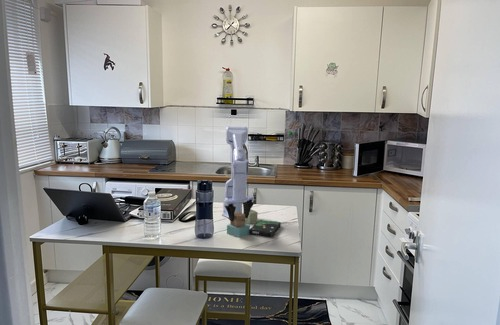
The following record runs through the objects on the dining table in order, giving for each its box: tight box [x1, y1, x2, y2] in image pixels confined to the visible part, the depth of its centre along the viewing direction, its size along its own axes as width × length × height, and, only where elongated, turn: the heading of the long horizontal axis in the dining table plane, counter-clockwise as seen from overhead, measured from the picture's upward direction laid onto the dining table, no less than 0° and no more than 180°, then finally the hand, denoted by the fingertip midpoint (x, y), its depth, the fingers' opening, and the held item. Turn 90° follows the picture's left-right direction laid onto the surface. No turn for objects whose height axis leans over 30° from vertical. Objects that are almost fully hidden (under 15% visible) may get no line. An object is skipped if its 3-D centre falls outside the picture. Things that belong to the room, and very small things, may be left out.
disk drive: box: [249, 219, 282, 239], centre depth 169 cm, size 10×3×15 cm
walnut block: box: [229, 212, 246, 228], centre depth 164 cm, size 4×4×5 cm
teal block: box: [226, 223, 251, 239], centre depth 165 cm, size 7×7×4 cm
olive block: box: [245, 209, 259, 225], centre depth 180 cm, size 4×4×5 cm
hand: (238, 219), depth 164 cm, fingers open, 7 cm apart
